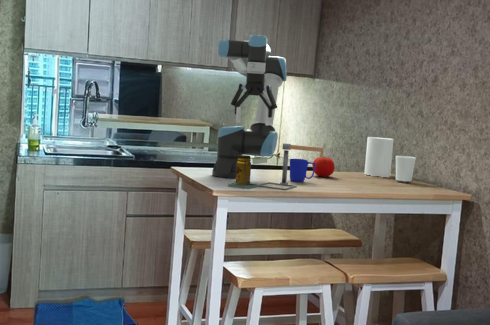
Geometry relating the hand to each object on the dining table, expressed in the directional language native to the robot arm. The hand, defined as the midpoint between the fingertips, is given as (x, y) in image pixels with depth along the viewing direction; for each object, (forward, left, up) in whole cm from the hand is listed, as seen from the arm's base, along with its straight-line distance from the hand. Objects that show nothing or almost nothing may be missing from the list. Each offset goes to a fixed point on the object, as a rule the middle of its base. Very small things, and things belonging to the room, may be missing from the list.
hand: (252, 124), depth 280 cm
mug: (+12, +33, -26) cm, 44 cm away
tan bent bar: (+17, +17, -13) cm, 27 cm away
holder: (+10, +7, -26) cm, 29 cm away
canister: (+33, +94, -26) cm, 103 cm away
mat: (0, -5, -26) cm, 26 cm away
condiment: (0, -5, -25) cm, 26 cm away
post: (+10, +16, -26) cm, 32 cm away
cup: (+50, +78, -26) cm, 96 cm away
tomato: (+13, +62, -26) cm, 68 cm away
